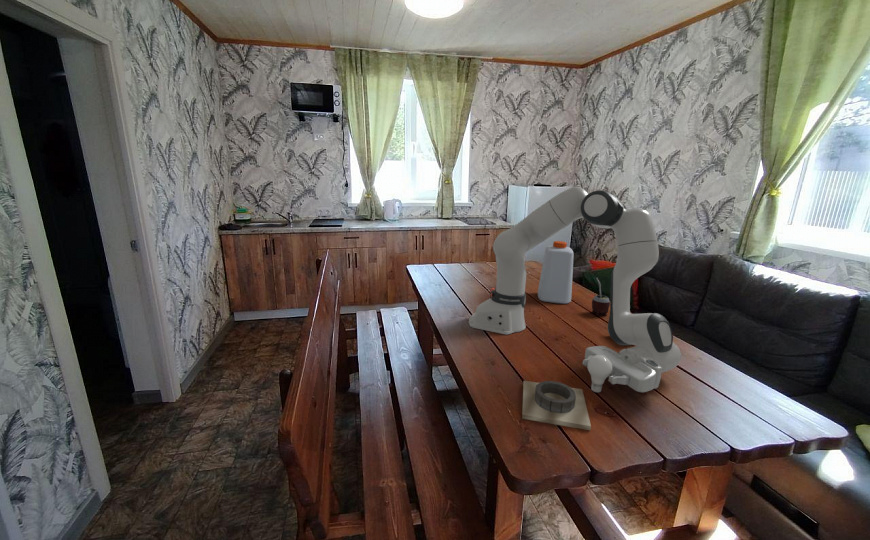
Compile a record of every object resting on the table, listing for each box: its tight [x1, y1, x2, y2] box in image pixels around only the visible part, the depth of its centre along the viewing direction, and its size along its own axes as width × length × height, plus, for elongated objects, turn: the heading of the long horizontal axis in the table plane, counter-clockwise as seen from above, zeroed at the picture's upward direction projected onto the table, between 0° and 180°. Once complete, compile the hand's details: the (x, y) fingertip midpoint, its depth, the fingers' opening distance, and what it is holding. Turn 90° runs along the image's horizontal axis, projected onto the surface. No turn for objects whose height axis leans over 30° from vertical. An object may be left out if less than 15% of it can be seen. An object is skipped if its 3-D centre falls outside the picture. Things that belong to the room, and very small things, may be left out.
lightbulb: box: [586, 355, 612, 393], centre depth 104 cm, size 6×6×11 cm
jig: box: [521, 380, 592, 431], centre depth 98 cm, size 16×16×4 cm
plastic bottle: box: [537, 240, 575, 305], centre depth 179 cm, size 15×15×28 cm
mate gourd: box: [591, 277, 610, 317], centre depth 162 cm, size 8×8×15 cm
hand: (597, 371), depth 104 cm, fingers open, 8 cm apart
